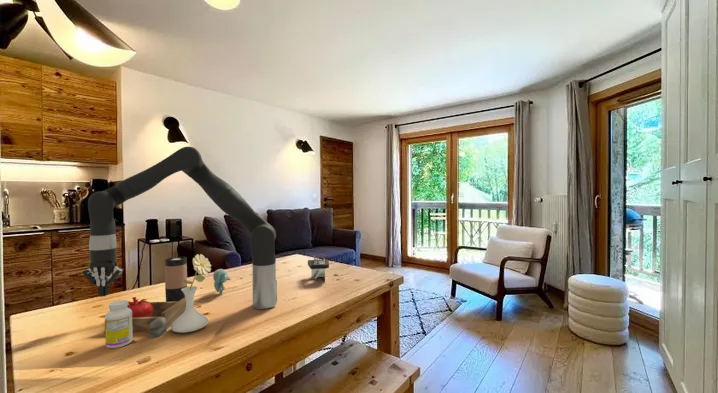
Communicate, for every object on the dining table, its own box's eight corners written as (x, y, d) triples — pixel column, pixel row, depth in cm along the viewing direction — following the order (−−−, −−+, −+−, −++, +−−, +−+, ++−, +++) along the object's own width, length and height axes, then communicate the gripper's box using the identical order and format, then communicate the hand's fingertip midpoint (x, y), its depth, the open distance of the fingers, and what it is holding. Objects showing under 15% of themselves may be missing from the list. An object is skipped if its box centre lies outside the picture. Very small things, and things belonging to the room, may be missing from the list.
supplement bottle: (115, 339, 100) (114, 299, 99) (137, 338, 100) (136, 298, 100) (99, 349, 93) (99, 306, 93) (123, 348, 93) (122, 305, 93)
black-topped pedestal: (294, 275, 175) (294, 251, 175) (341, 274, 178) (341, 250, 178) (289, 291, 147) (289, 263, 147) (345, 289, 150) (345, 261, 150)
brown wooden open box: (189, 312, 122) (189, 296, 122) (159, 337, 101) (158, 318, 101) (136, 313, 121) (136, 298, 120) (94, 339, 100) (94, 320, 100)
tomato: (158, 320, 114) (158, 295, 114) (126, 330, 106) (126, 303, 106) (145, 315, 120) (144, 290, 119) (113, 324, 111) (113, 298, 111)
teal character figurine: (230, 298, 138) (230, 270, 138) (212, 300, 136) (212, 272, 136) (230, 290, 148) (230, 265, 148) (214, 292, 146) (213, 267, 146)
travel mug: (177, 311, 123) (176, 260, 122) (160, 310, 124) (160, 259, 124) (191, 304, 130) (191, 256, 130) (175, 303, 132) (175, 256, 131)
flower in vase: (182, 339, 99) (181, 260, 99) (163, 331, 105) (162, 256, 105) (219, 324, 110) (219, 253, 110) (200, 317, 116) (200, 250, 116)
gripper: (129, 245, 116) (129, 292, 116) (91, 245, 115) (92, 292, 115) (115, 249, 108) (115, 299, 109) (74, 249, 108) (75, 299, 108)
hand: (103, 295), depth 112 cm, fingers closed
